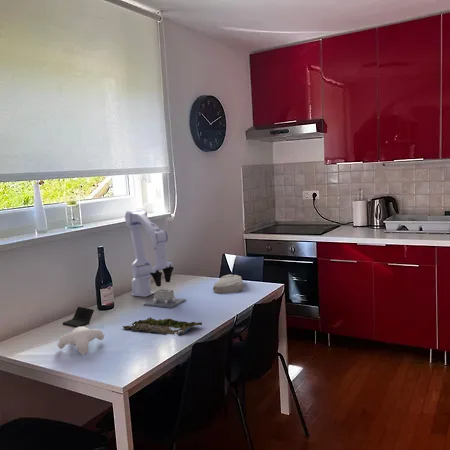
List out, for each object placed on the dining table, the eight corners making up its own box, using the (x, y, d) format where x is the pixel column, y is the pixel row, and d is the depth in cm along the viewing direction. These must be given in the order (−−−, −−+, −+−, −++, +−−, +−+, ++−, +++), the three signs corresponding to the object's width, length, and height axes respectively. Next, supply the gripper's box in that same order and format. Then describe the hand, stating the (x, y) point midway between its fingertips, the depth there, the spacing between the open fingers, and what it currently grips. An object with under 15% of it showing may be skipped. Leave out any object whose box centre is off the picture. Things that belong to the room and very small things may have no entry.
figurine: (58, 354, 180) (58, 361, 163) (55, 329, 181) (55, 333, 164) (104, 344, 186) (108, 349, 169) (100, 320, 187) (104, 323, 170)
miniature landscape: (203, 326, 189) (202, 319, 188) (190, 338, 178) (189, 331, 178) (137, 321, 202) (136, 315, 202) (120, 332, 192) (119, 326, 191)
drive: (155, 302, 225) (154, 290, 225) (160, 299, 229) (159, 288, 228) (169, 303, 222) (168, 291, 221) (174, 301, 225) (173, 289, 224)
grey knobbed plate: (143, 305, 224) (143, 299, 224) (158, 298, 234) (158, 292, 234) (171, 308, 216) (171, 302, 216) (185, 300, 227) (185, 295, 226)
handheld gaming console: (58, 322, 202) (69, 301, 206) (68, 327, 208) (78, 306, 212) (78, 328, 197) (89, 306, 201) (88, 334, 203) (98, 312, 207)
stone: (243, 292, 236) (243, 282, 235) (213, 294, 236) (213, 284, 235) (240, 282, 257) (240, 272, 257) (212, 284, 257) (212, 274, 256)
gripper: (158, 259, 214) (161, 288, 216) (176, 253, 227) (178, 280, 229) (146, 259, 218) (148, 287, 219) (164, 252, 230) (166, 279, 232)
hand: (163, 284), depth 224 cm, fingers open, 7 cm apart
